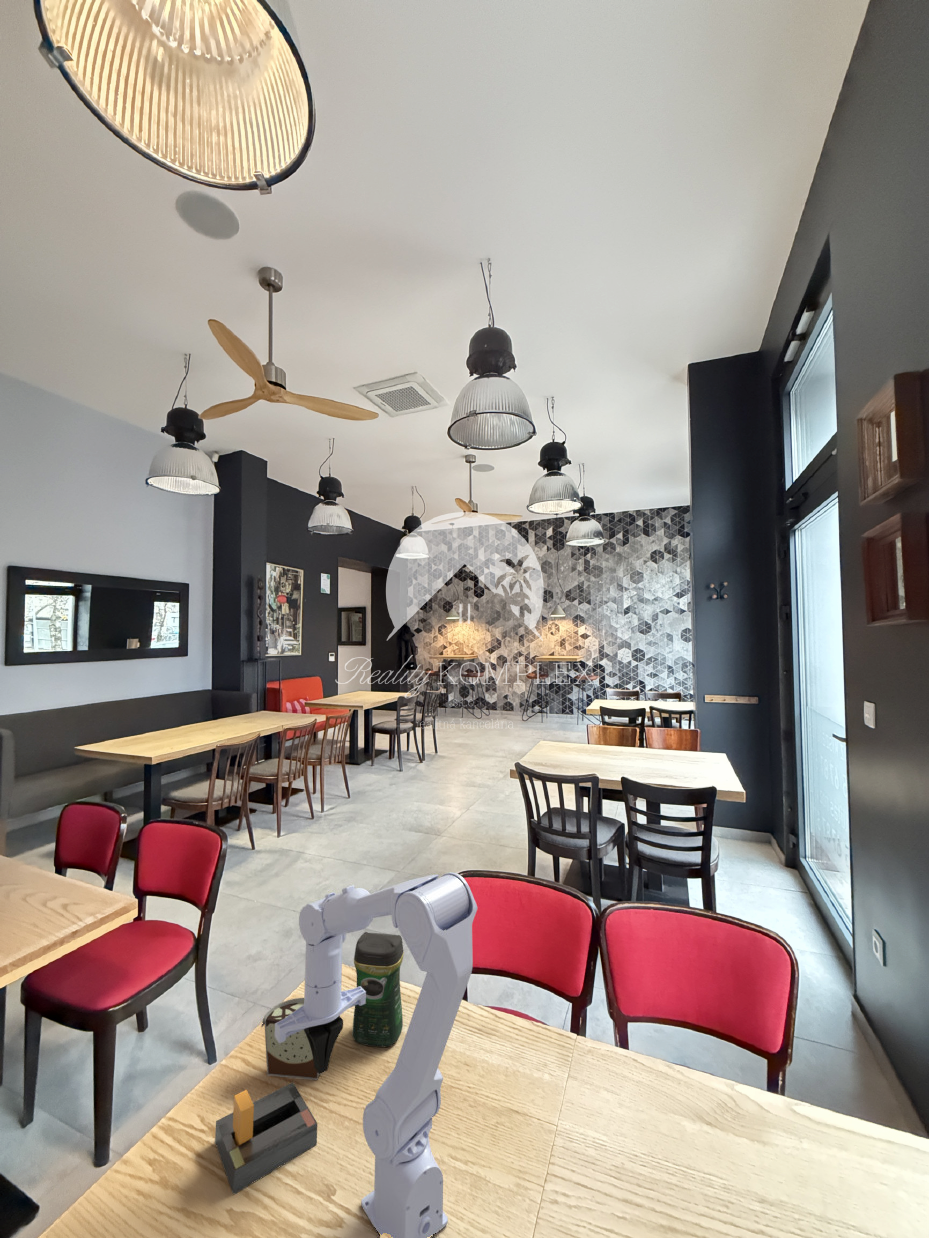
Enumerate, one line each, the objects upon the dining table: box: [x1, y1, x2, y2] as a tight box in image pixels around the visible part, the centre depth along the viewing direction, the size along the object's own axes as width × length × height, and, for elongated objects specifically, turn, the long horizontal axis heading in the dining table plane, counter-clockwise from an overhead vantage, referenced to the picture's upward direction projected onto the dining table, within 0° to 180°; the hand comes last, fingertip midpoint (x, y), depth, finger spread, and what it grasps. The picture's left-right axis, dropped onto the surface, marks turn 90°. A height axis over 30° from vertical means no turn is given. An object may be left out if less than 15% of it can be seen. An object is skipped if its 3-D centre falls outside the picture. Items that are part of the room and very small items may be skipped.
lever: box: [232, 1089, 254, 1147], centre depth 77 cm, size 4×2×7 cm, turn 39°
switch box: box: [214, 1081, 318, 1195], centre depth 79 cm, size 10×12×3 cm
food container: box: [261, 997, 321, 1081], centre depth 95 cm, size 12×6×10 cm, turn 84°
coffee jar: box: [351, 931, 405, 1048], centre depth 103 cm, size 10×8×19 cm
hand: (320, 1068), depth 81 cm, fingers closed
